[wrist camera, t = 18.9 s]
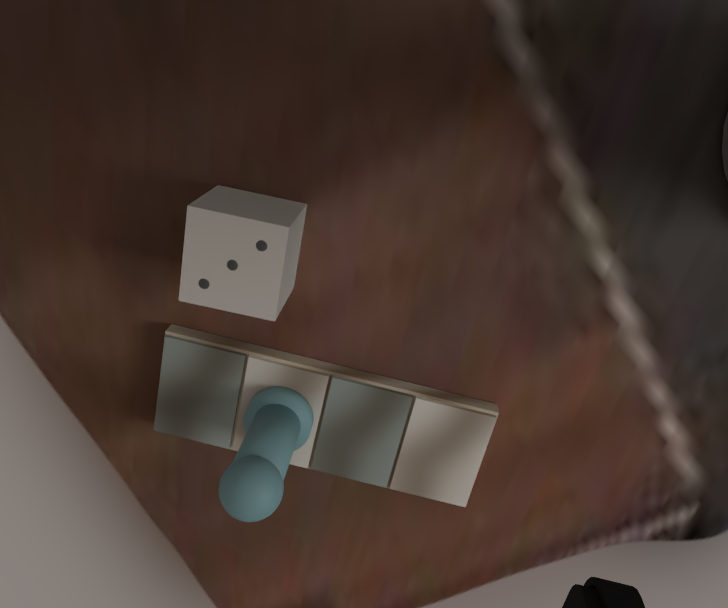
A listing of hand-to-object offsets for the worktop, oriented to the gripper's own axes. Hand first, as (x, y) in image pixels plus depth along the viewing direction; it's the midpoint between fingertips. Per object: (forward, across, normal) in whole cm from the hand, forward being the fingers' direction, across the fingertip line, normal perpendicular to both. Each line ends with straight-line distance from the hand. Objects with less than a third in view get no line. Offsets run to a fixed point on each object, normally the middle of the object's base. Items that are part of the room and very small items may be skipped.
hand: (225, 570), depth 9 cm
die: (+28, +6, +5) cm, 29 cm away
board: (+28, 0, +15) cm, 32 cm away
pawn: (+27, +2, +15) cm, 31 cm away
